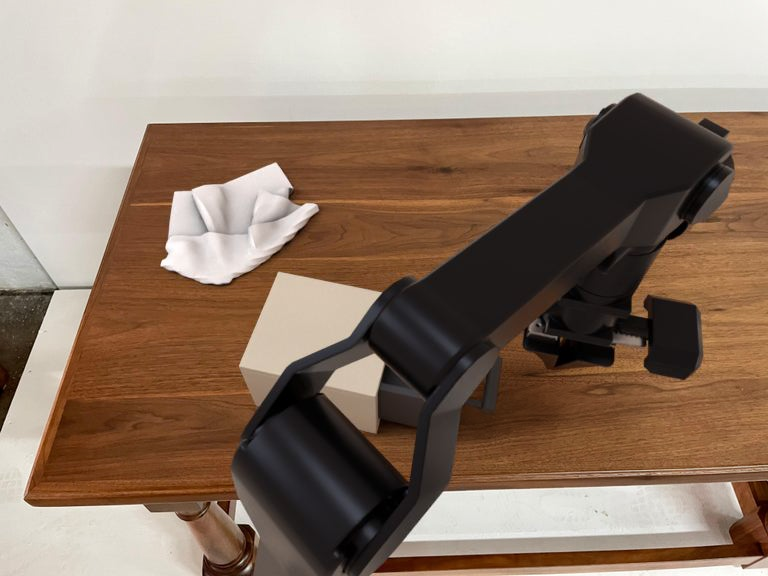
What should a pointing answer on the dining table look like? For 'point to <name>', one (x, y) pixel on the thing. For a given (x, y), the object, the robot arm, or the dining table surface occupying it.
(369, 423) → the beige box
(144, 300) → the dining table surface
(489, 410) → the drawer
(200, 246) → the cloth
